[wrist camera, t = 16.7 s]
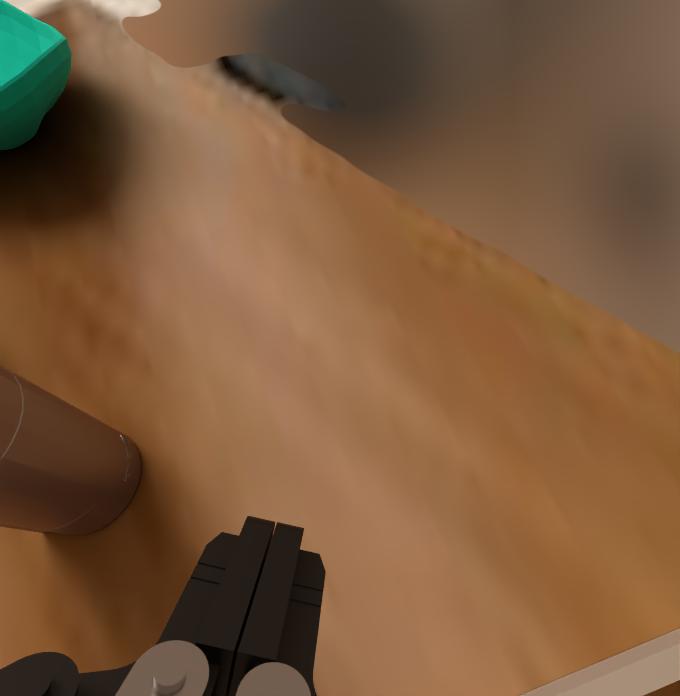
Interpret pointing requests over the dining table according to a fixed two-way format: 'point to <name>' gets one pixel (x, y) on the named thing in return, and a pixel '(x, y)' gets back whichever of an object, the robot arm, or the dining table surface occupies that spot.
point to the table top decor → (28, 73)
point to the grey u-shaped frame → (623, 672)
